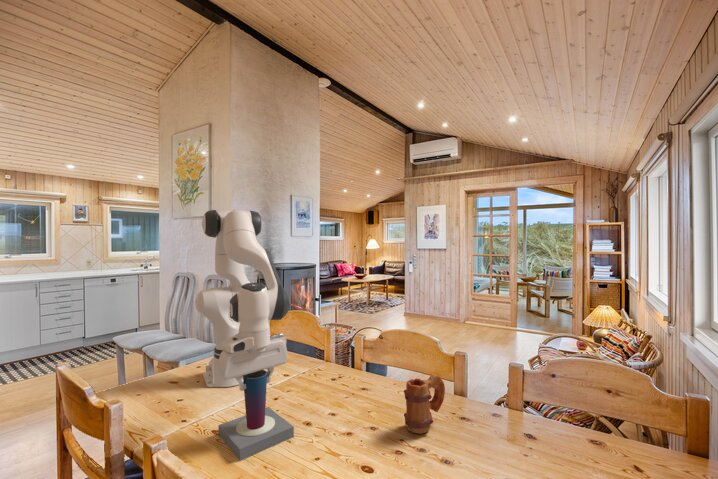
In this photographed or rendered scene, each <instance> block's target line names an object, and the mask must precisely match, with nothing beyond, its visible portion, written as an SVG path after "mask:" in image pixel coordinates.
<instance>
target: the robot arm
mask: <svg viewBox="0 0 718 479" xmlns="http://www.w3.org/2000/svg"><path fill="white" fill-rule="evenodd" d="M201 227H202V230H203V233H204V234H205V236H207V237H208V238H209V237H210V238H216V239H215V248H214V261H215V262H214V270H215V273H216V274H217V275H218V276H219V277H221V278H223V279H225V280H228V281H229V285H228V286H219V287H217V286H216V287H211V288H207V289H204V290H200V291H199V292H198V293H197V294H196V298H195V300H194V305H195V310H196V311H197V312H198V313H199V314H200V315H202V316H203V317H205V318H206V319H207V320H208V321H209V322H210V323H211V325H212V327H213V330H214V339H215V346H214V350H213V357H211V360H209V362H208V365H205V372H203V373H202V377H203V381H204V383H205V387H206V388H214V387H215V388H229V387H236V386H238V385H239V386H238V387H239V390H240V392H244V390H246V384H245V383H244V382H243V375H246V374H250V373H253V372H257V371H261V370H266V372H267V384H268V383H271V377H272V375H273V373H274V371H275V367H278V366H282V365H285V364H286V363H287V361H288V360H289V357H288V349H287V336H286V335H285V334H283V333H277V334H272V335H271V328H270V327H271V325H270V322H269V321H281V320H283V319H284V317H286V316H287V315H288V313H289V311H290V307H291V304H290V299H289V296H288V293H287V291H286V290H285V288H284V285H283V284H282V282H281V279H280V277H279V273H278V272H277V268H276V266H275V263H274V261H273V258H272V256H271V254H270V253H269V252H270V251H268V250H267V249H266V248H264V247H262V245H261V244H260V243H259V241H258V240H257V237H258V235H260V234H261V231H262V229H263V220H262V216H261V214H260V213H259V211H255V210H243V209H221V210H216V209H210V210H208V211H206V212H205V213H204V215H203V217H202V220H201ZM245 266H248V267H252V268H254V269H257V270H258V271H259V272H260V273H261V274H262V276H263V279H264V282H265V284H264V283H261V282H250V280H249V279H248V277H247V275H246V271H245Z"/></svg>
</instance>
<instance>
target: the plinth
mask: <svg viewBox="0 0 718 479" xmlns="http://www.w3.org/2000/svg"><path fill="white" fill-rule="evenodd" d="M217 429H218V436H219V438H220V439H221V440H222V441H223V443H224V444H225V445H226V446H227V447H228V448H229V449H230V450H231V452H232V453H233V454H234V455H235V457H236V458H237V459H238V460H239V461H243V460H246V459H247V458H249V457H251V456H252V457H253V456H254V455H257V454H259V453H260V452H263V451H265V450H267V449H271V448H273V447H274V446H276V445H277V446H278V445H279V444H281V443H283V442H286V441H287V440H290V439H291V438H294V437H295V431H294V430H295V428H294V425H293V424H291V423H289V422H288V420H286V419H285V418H283V417H282V416H281V415H280V414H278V413H277V412H275V411H274V410H273V409H271V408H270V407H265V424H264V426H263V427H261V428H259V429H254V430H252V429H248V428H247V421H246V414H245V415H243V416H240V417H237V418H234V419H232V420H229V421H225V422H222V423H221V424H218V428H217Z"/></svg>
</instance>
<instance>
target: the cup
mask: <svg viewBox="0 0 718 479" xmlns="http://www.w3.org/2000/svg"><path fill="white" fill-rule="evenodd" d="M243 382H244V383H245V384H246V390H243V394H244V396H243V397H244V405H245V406H244V407H245V415H246V421H247V428H248V429H252V430H254V429H259V428H261V427H263V426H264V424H265V408H266V401H267V384H268V383H267V370H266V369H264V370H261V371H257V372H253V373H250V374H246V375H243Z"/></svg>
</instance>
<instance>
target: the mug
mask: <svg viewBox="0 0 718 479" xmlns="http://www.w3.org/2000/svg"><path fill="white" fill-rule="evenodd" d="M445 387H446V386H445V384H444V381H443V379H442V377H440V376H439V375H437V374H436V373H432V374H430V376H428V378H427V379H426V380H425V379H421V378H415V379H414V378H411V379H410V380H409V379H408V381H406V389H404V390H403V393H404V399H405V400H406V401H405V403H406V404H405V407H406V412H404V413H403V417H404V424H405V425H406V428H407V430H408V431H409V432H410V431H411V432H412V433H415V434H425V433H427V432H429V431H430V429H431V427H432V425H433V423H434V420H433V415H432V412H431V410H432V411H433V412H435V413H438V411H439V410H440V409H441V407H442V404H443V402H444V399H445V393H446V388H445ZM431 388H432V389H434V392H433V397H432V395H431V390H430V389H431Z"/></svg>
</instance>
